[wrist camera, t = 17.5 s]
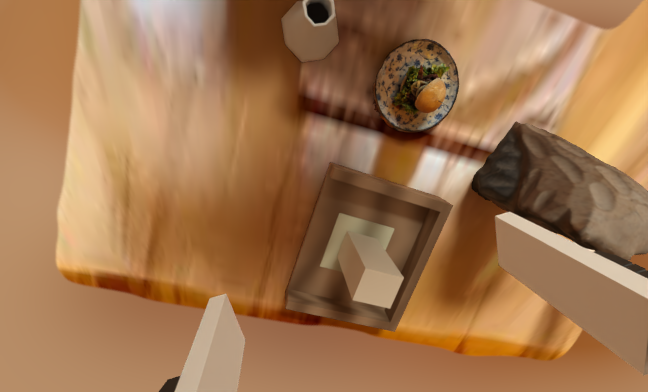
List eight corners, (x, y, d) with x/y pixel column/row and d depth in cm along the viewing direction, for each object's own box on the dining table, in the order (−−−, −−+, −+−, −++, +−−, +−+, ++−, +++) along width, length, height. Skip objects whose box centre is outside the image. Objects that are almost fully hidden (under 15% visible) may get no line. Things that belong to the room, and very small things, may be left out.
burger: (446, 31, 41) (480, 16, 34) (458, 118, 45) (491, 121, 38) (361, 55, 41) (377, 45, 34) (380, 142, 45) (398, 149, 37)
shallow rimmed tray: (285, 292, 49) (285, 308, 45) (330, 162, 44) (334, 168, 40) (386, 314, 53) (394, 331, 49) (438, 196, 48) (453, 205, 44)
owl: (557, 178, 50) (727, 225, 31) (494, 229, 51) (620, 305, 32) (519, 118, 46) (686, 129, 27) (453, 175, 47) (566, 225, 28)
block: (337, 256, 47) (352, 300, 37) (346, 230, 46) (365, 268, 36) (367, 263, 48) (390, 308, 38) (377, 238, 47) (403, 277, 37)
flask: (323, -13, 38) (336, -51, 28) (347, 46, 40) (368, 29, 31) (270, 15, 38) (266, -13, 29) (298, 72, 40) (303, 63, 31)
